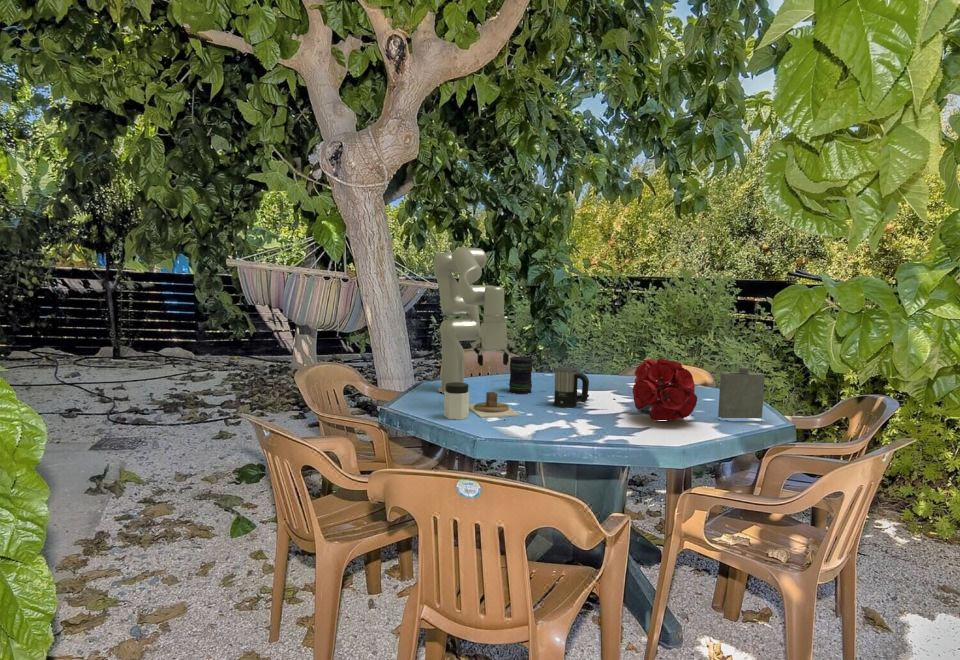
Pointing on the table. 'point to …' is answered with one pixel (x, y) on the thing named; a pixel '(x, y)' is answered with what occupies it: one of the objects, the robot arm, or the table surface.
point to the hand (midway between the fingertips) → (493, 365)
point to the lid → (491, 404)
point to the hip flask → (741, 394)
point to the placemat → (490, 415)
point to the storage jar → (520, 375)
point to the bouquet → (664, 389)
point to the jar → (456, 401)
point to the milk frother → (569, 387)
